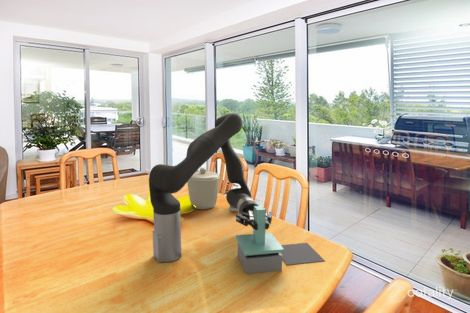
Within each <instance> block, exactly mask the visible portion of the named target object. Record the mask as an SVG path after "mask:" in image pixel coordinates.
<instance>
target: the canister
mask: <svg viewBox="0 0 470 313" xmlns="http://www.w3.org/2000/svg"><path fill="white" fill-rule="evenodd" d="M220 178H221V175H220V174H219V173H217V172H215V171H209V170H207V168H206V167H200V168H199V170H197V171H196V172H195V173H194V174H193V175H192V177H191V178H190V179H189V180H188V182H187V183H186V184H187V189H188V197H189V202H191V203H190V205H191V204H192V205H195V206H196V208H195V209H196V210H210V209H212V208H214V207H215V206H216V205H217V201H218V195H219V194H218V193H219V192H218V191H219V186H220V185H219V184H220ZM192 205H191V206H192Z"/></svg>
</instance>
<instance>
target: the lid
mask: <svg viewBox="0 0 470 313" xmlns="http://www.w3.org/2000/svg"><path fill="white" fill-rule="evenodd" d="M266 214H267V209H266V208H265V206H264V205H259V206H254V220H255V221H256V222H257V224H258V230H255V229H253V228H252V229H253V230H252V232H253V233H250V234H240V235H239V234H238V235H235V240H236V241H237V244H238V243H239V245H240V247H241V249H242V251H243V253H244V255H245V256H248V255H259V254H270V253H280V252H284V248H283V247H282V246H281V245H282V244H281V243H280V242H279V240H278V239H277V238H276V237H275V236H274V234H272V232H266V229H265V224H266Z"/></svg>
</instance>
